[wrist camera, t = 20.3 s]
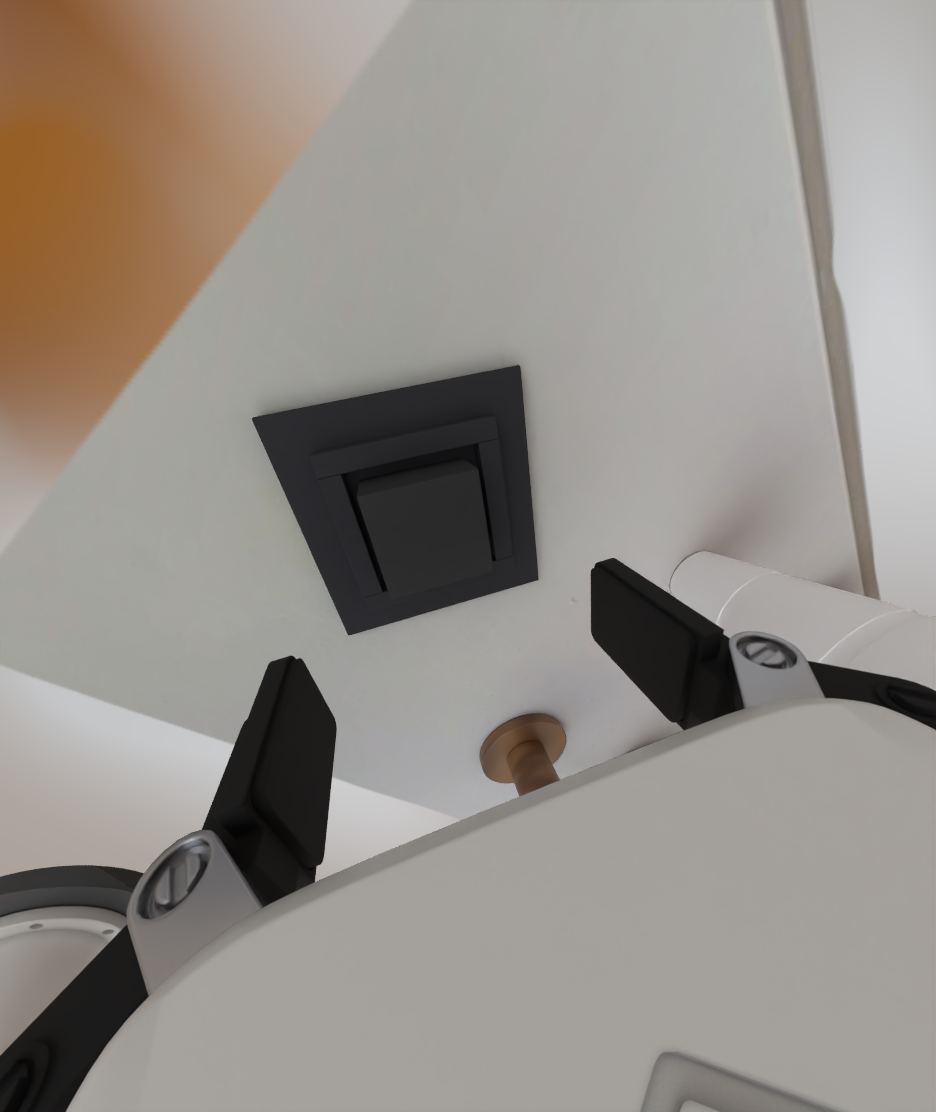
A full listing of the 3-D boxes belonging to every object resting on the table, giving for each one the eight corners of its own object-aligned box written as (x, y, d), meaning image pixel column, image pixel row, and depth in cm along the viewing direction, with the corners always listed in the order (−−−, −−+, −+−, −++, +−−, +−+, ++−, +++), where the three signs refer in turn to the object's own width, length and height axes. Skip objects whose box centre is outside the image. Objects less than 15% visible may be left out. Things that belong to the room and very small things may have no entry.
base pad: (349, 627, 24) (346, 648, 22) (256, 416, 17) (242, 419, 15) (533, 573, 26) (546, 588, 24) (514, 366, 19) (529, 363, 17)
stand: (486, 784, 36) (557, 1031, 22) (472, 732, 32) (549, 997, 18) (563, 755, 37) (675, 972, 23) (559, 702, 33) (694, 927, 19)
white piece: (644, 539, 27) (1023, 747, 11) (756, 504, 28) (1235, 646, 13) (637, 638, 32) (892, 877, 16) (733, 605, 33) (1054, 795, 18)
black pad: (388, 571, 22) (391, 600, 18) (358, 479, 19) (356, 496, 16) (477, 547, 22) (494, 571, 19) (462, 456, 20) (478, 468, 16)
